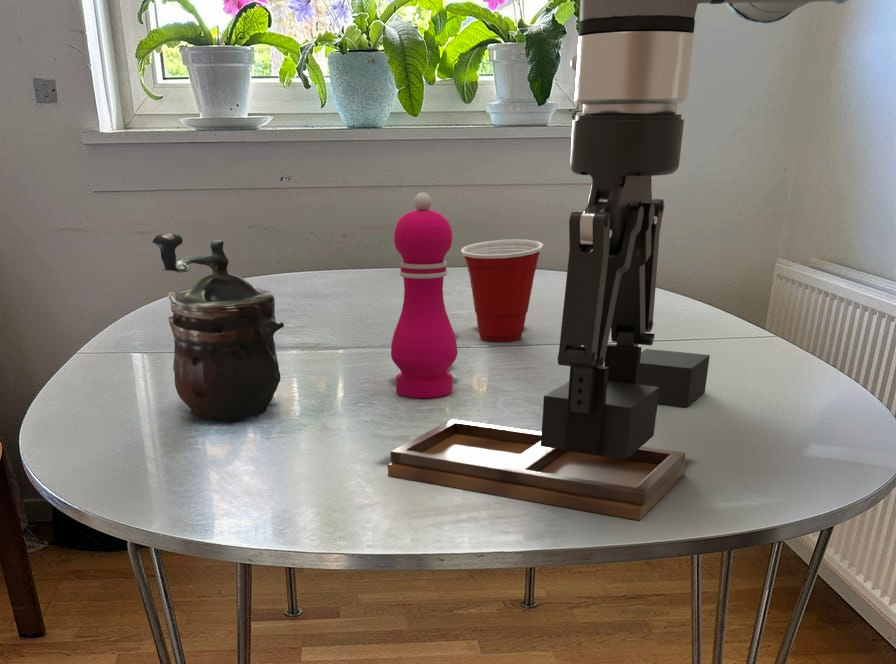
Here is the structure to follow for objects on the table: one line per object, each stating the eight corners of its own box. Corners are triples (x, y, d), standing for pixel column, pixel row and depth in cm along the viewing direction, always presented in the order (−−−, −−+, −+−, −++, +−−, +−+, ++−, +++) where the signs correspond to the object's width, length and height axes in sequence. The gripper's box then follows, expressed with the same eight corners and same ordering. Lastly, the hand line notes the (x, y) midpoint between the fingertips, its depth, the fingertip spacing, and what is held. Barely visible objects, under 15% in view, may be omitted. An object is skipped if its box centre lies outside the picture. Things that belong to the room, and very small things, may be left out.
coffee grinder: (141, 436, 91) (108, 235, 83) (193, 397, 104) (170, 218, 95) (268, 440, 90) (249, 235, 81) (305, 399, 102) (292, 218, 94)
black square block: (653, 436, 77) (659, 387, 75) (625, 460, 72) (631, 407, 70) (573, 424, 80) (576, 376, 78) (540, 446, 75) (543, 395, 73)
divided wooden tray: (684, 473, 80) (687, 450, 79) (639, 520, 71) (642, 495, 70) (453, 438, 89) (453, 417, 88) (387, 475, 80) (387, 452, 79)
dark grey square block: (705, 392, 103) (710, 354, 101) (687, 407, 98) (692, 368, 96) (642, 385, 106) (646, 348, 104) (621, 399, 101) (625, 361, 99)
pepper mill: (469, 388, 106) (472, 191, 96) (433, 403, 100) (433, 195, 91) (415, 380, 109) (413, 189, 100) (378, 394, 104) (372, 193, 94)
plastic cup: (443, 338, 130) (443, 244, 124) (498, 327, 136) (500, 237, 131) (500, 349, 123) (503, 250, 117) (555, 337, 129) (560, 243, 123)
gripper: (623, 110, 74) (598, 403, 85) (518, 110, 59) (504, 467, 70) (720, 109, 70) (681, 414, 82) (635, 109, 55) (601, 483, 67)
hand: (600, 438), depth 76 cm, fingers closed on black square block, 7 cm apart
